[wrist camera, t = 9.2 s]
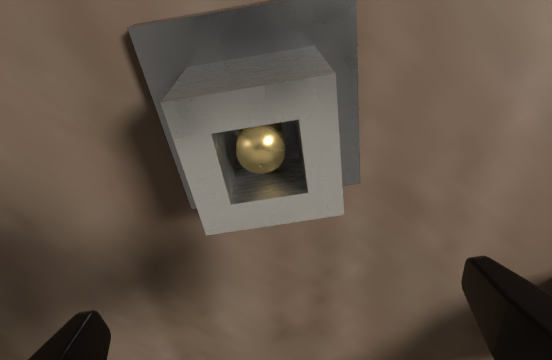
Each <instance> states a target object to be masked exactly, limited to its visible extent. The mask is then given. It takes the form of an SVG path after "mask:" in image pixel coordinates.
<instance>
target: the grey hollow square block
mask: <svg viewBox="0 0 552 360" xmlns="http://www.w3.org/2000/svg"><path fill="white" fill-rule="evenodd" d="M161 106H162V109H163V112H164V115H165V118H166V120H167V123H168V126H169V129H170V132H171V135H172V138H173V141H174V144H175V146H176V149H177V152H178V155H179V158H180V161H181V164H182V167H183V170H184V172H185V175H186V178H187V181H188V184H189V187H190V190H191V193H192V196H193V198H194V201H195V204H196V207H197V210H198V213H199V216H200V219H201V222H202V224H203V227H204V230H205V233H206V235H212V234H219V233H226V232H232V231H239V230H246V229H252V228H259V227H266V226H272V225H279V224H286V223H292V222H299V221H306V220H312V219H319V218H325V217H332V216H339V215H344V204H343V187H342V170H341V154H340V137H339V120H338V104H337V87H336V73H335V72H334V71H333V69H332V68H331V67H330V65H329V64H328V63H327V61H326V60H325V59H324V58H323V56H322V55H321V54H320V52H319V51H318V50H317V48H316V47H315V46H309V47H303V48H297V49H291V50H285V51H279V52H274V53H268V54H262V55H256V56H250V57H245V58H239V59H233V60H227V61H221V62H215V63H210V64H204V65H198V66H192V67H187V68H186V69H185V70H184V72H183V73H182V74H181V76H180V77H179V78H178V80H177V81H176V82H175V84H174V85H173V87H172V88H171V89H170V91H169V92H168V93H167V95H166V96H165V97H164V99H163V100H162V101H161ZM292 120H294V128H295V135H296V141H290V142H284V144H285V157H284V160H283V162H282V163H281V165H280V166H279V167H278V168H276V169H275V170H273V171H271V172H268V173H254V172H251V171H249V170H247V169H245V168H244V167H243V166H242V165H241V164H240V162H239V161H238V158H237V154H236V143H235V139H234V135H233V131H232V130H237V129H243V128H249V127H256V126H262V125H268V124H274V123H280V122H286V121H292Z"/></svg>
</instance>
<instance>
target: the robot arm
mask: <svg viewBox="0 0 552 360" xmlns="http://www.w3.org/2000/svg"><path fill="white" fill-rule="evenodd" d="M461 283H462V289H463V292H464V294H465V296H466V299H467V301H468V303H469V305H470V308H471V310H472V312H473V314H474V317H475V319H476V321H477V323H478V326H479V328H480V330H481V332H482V335H483V337H484V339H485V341H486V344H487V346H488V348H489V350H490V352H491V354H492V356H493V358H494V360H552V294H550V293H548V292H546V291H545V290H543V289H541V288H540V287H538V286H536V285H535V284H533V283H531V282H530V281H528V280H526V279H525V278H523V277H521V276H520V275H518V274H516V273H514V272H513V271H511V270H509V269H508V268H506V267H504V266H503V265H501V264H499V263H498V262H496V261H494V260H493V259H491V258H489V257H487V256H477V257H470V258H468V259H467V260H466V262H465V266H464V271H463V276H462V282H461ZM110 340H111V333H110V329H109V328H108V326H107V325H106V323H105V322H104V320H103V319H102V317H101V316H100V314H99V313H98V312H97V311H95V310H91V311H84V312H79V313H77V314H76V315H75V316H74V317H72V318H71V319H70V320H69V321H68V322H67V323H66V324H65V325H64V326H63V327H62V328H61V329H60V330H59V331H58V332H57V333H56V334H54V335H53V336H52V337H51V338H50V339H49V340H48V341H47V342H46V343H45V344H44V345H43V346H42V347H41V348H40V349H39V350H38V351H36V352H35V353H34V354H33V355H32V356H31V357H30V358H29V359H28V360H107V356H108V351H109V346H110Z"/></svg>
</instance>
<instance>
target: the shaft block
mask: <svg viewBox="0 0 552 360" xmlns="http://www.w3.org/2000/svg"><path fill="white" fill-rule="evenodd" d="M128 31H129V34H130V37H131V40H132V42H133V45H134V48H135V51H136V54H137V57H138V59H139V62H140V65H141V68H142V71H143V73H144V76H145V79H146V82H147V85H148V87H149V90H150V93H151V96H152V99H153V102H154V104H155V107H156V110H157V113H158V116H159V118H160V121H161V124H162V127H163V130H164V133H165V135H166V138H167V141H168V144H169V147H170V149H171V152H172V155H173V158H174V161H175V163H176V166H177V169H178V172H179V175H180V178H181V180H182V183H183V186H184V189H185V192H186V194H187V197H188V200H189V203H190V206H191V209H197V207H196V204H195V201H194V198H193V196H192V193H191V190H190V187H189V184H188V181H187V178H186V175H185V172H184V170H183V167H182V164H181V161H180V158H179V155H178V152H177V149H176V146H175V144H174V141H173V138H172V135H171V132H170V129H169V126H168V123H167V120H166V118H165V115H164V112H163V109H162V106H161V101H162V100H163V99H164V97H165V96H166V95H167V93H168V92H169V91H170V89H171V88H172V87H173V85H174V84H175V82H176V81H177V80H178V78H179V77H180V76H181V74H182V73H183V72H184V70H185V69H186V68H187V67H192V66H198V65H204V64H210V63H215V62H221V61H227V60H233V59H239V58H245V57H250V56H256V55H262V54H268V53H274V52H279V51H285V50H291V49H297V48H303V47H309V46H315V47H316V48H317V50H318V51H319V52H320V54H321V55H322V56H323V58H324V59H325V60H326V61H327V63H328V64H329V65H330V67H331V68H332V69H333V71H334V72H335V73H336V87H337V104H338V120H339V137H340V154H341V170H342V186H347V185H353V184H360V146H359V106H358V66H357V25H356V0H271V1H265V2H260V3H254V4H248V5H243V6H237V7H231V8H226V9H220V10H214V11H209V12H203V13H197V14H192V15H186V16H180V17H175V18H169V19H163V20H158V21H152V22H146V23H141V24H135V25H132V26H130V27H128ZM232 131H233V135H234V139H235V143H236V154H237V158H238V161H239V162H240V164H241V165H242V166H243V167H244V168H245V169H247V170H249V171H251V172H254V173H268V172H271V171H273V170H275V169H276V168H278V167H279V166H280V165H281V163H282V162H283V160H284V157H285V144H284V142H290V141H296V135H295V128H294V120H292V121H286V122H280V123H274V124H268V125H262V126H256V127H249V128H243V129H237V130H232Z"/></svg>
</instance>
